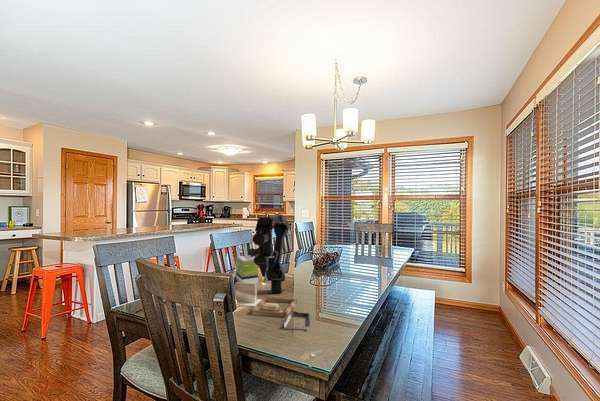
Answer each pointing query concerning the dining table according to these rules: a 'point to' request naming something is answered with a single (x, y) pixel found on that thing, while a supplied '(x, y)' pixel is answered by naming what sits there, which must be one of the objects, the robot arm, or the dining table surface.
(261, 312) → the rack
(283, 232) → the robot arm
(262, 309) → the offcut middle
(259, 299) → the mat
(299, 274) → the dining table surface
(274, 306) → the offcut top
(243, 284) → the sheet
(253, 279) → the tea box
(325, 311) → the dining table surface
